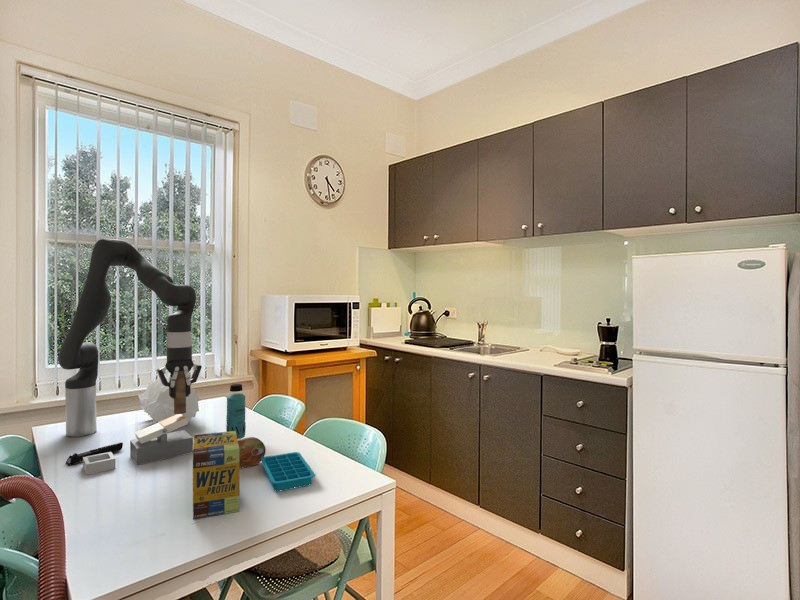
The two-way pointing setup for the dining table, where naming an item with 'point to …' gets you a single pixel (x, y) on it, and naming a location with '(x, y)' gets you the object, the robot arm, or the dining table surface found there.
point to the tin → (250, 451)
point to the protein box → (215, 474)
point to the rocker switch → (161, 428)
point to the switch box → (161, 447)
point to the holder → (98, 463)
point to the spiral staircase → (165, 402)
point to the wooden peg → (180, 393)
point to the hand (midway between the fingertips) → (179, 396)
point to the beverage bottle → (236, 411)
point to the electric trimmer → (93, 453)
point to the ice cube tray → (287, 470)
